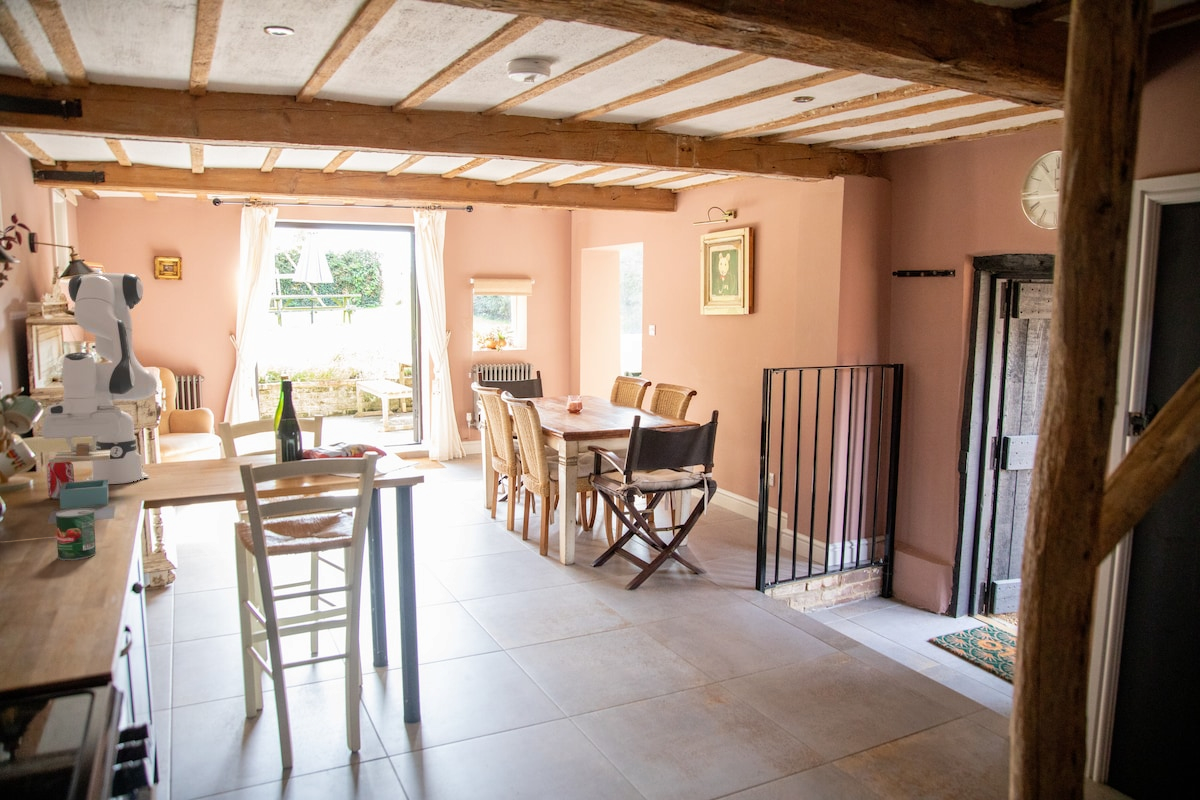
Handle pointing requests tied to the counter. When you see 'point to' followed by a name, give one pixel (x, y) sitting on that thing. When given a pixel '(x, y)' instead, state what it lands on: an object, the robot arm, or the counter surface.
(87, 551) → the canned tomato
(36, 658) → the counter surface
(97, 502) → the teal open box
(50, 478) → the soda can
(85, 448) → the lid
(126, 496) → the counter surface
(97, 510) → the mat
